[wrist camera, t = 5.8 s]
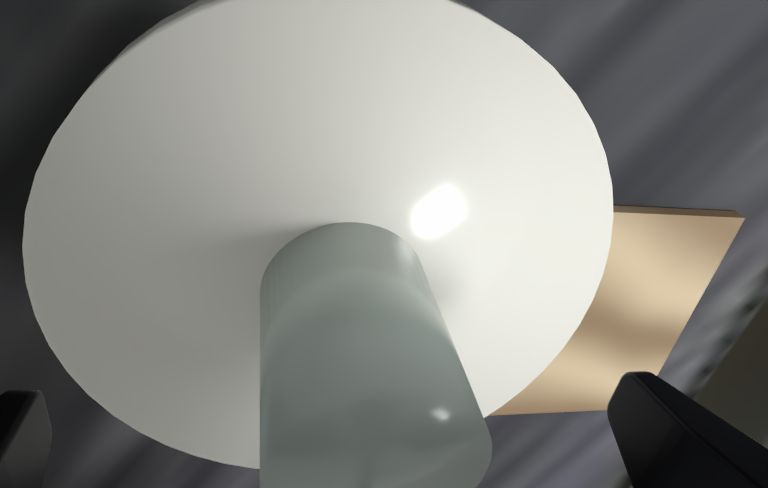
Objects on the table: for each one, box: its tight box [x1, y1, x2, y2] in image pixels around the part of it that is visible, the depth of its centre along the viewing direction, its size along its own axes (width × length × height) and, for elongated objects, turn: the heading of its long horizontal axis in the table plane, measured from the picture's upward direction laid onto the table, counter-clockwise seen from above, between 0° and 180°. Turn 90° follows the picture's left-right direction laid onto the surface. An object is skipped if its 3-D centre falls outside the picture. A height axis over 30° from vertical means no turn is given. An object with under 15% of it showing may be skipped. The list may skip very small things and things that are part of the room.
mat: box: [489, 205, 745, 415], centre depth 26 cm, size 12×12×1 cm
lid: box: [22, 0, 614, 488], centre depth 10 cm, size 11×11×5 cm
